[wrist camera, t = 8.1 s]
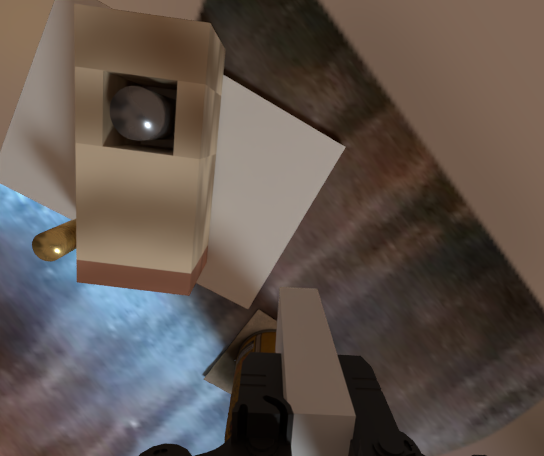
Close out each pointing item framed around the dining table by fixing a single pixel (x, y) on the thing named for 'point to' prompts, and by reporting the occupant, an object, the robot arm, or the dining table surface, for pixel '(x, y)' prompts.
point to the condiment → (242, 357)
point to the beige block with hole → (144, 150)
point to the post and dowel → (131, 124)
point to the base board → (229, 156)
